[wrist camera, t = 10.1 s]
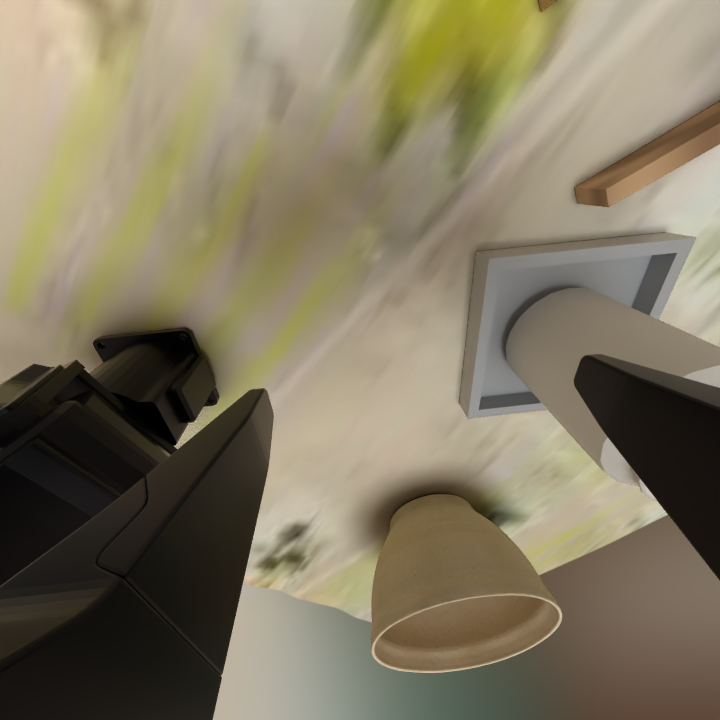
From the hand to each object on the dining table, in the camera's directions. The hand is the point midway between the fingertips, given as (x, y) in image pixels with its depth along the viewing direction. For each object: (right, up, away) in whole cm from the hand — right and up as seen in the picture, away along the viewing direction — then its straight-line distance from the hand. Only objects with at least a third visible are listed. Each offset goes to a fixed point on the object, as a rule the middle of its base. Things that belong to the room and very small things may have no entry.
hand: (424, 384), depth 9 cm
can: (+12, +3, +14) cm, 19 cm away
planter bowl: (+6, -17, +26) cm, 32 cm away
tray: (+12, +3, +14) cm, 19 cm away
